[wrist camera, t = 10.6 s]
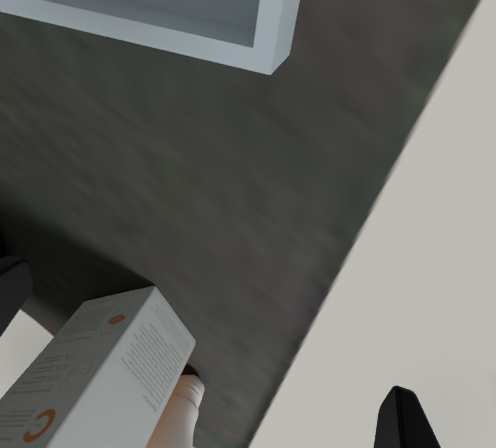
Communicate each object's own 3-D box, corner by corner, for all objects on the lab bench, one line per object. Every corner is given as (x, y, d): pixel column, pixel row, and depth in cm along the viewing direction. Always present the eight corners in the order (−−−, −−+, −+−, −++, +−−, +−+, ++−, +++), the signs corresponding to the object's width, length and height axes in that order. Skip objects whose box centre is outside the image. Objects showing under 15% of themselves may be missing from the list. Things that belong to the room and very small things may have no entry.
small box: (127, 351, 36) (19, 517, 25) (83, 299, 33) (-57, 459, 23) (200, 342, 32) (107, 533, 21) (156, 282, 29) (28, 466, 19)
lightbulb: (148, 362, 35) (69, 497, 27) (193, 345, 32) (119, 493, 23) (195, 404, 37) (134, 544, 28) (242, 392, 34) (189, 546, 25)
